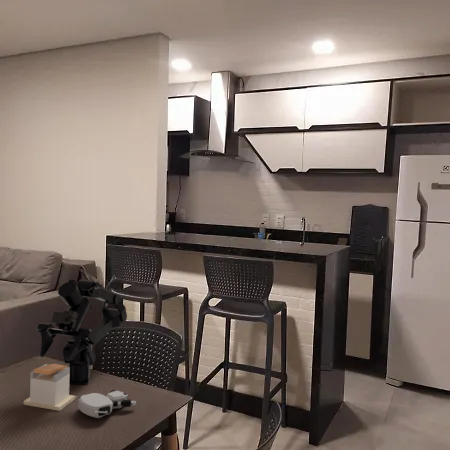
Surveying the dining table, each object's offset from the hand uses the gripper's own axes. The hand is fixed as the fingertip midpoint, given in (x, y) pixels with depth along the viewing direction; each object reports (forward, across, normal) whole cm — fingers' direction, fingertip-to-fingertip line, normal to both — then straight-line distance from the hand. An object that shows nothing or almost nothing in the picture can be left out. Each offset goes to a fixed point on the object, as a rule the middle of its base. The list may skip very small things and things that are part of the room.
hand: (54, 358), depth 133 cm
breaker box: (+10, 0, +7) cm, 13 cm away
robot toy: (+10, +18, +8) cm, 22 cm away
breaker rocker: (+4, 0, +1) cm, 4 cm away
